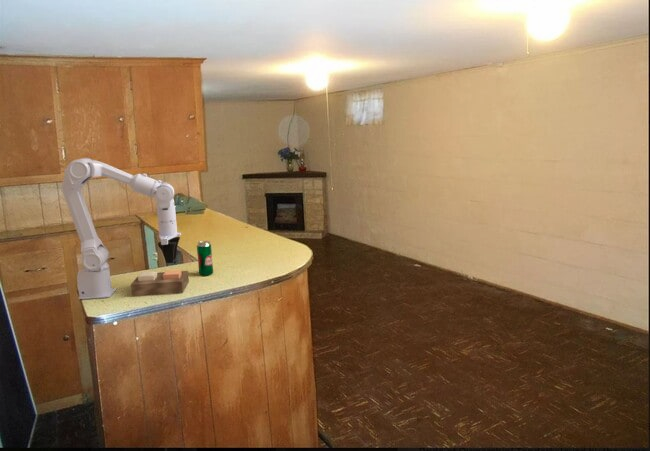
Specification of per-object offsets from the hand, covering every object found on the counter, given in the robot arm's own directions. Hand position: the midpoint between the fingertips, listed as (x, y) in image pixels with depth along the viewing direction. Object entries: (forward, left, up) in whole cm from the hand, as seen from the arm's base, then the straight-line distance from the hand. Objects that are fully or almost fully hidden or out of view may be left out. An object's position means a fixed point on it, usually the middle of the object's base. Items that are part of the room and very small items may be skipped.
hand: (171, 261), depth 165 cm
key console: (-4, 0, -9) cm, 10 cm away
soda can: (+9, +14, -10) cm, 19 cm away
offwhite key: (-8, 0, -6) cm, 10 cm away
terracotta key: (0, 0, -6) cm, 6 cm away
